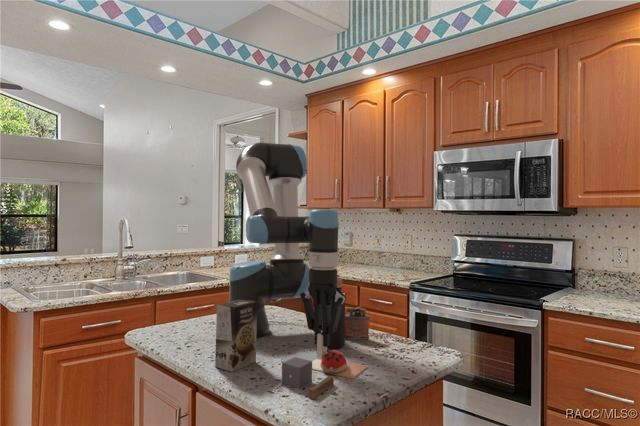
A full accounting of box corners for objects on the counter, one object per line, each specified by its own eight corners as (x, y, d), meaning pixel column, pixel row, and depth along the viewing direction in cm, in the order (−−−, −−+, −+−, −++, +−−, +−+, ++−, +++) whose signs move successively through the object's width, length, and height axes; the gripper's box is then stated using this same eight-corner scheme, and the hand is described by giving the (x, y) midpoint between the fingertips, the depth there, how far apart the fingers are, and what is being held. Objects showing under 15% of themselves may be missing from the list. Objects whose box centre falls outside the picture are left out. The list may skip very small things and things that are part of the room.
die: (298, 390, 93) (281, 384, 96) (311, 382, 97) (294, 377, 100) (299, 367, 93) (281, 363, 96) (312, 361, 97) (294, 356, 100)
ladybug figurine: (347, 361, 110) (347, 348, 110) (346, 376, 100) (346, 361, 100) (322, 360, 111) (322, 347, 111) (318, 374, 101) (319, 360, 101)
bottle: (322, 342, 128) (323, 277, 129) (344, 342, 128) (345, 277, 128) (321, 349, 122) (322, 280, 122) (344, 349, 121) (345, 281, 122)
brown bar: (308, 397, 89) (309, 389, 89) (329, 383, 97) (329, 375, 97) (313, 399, 88) (313, 390, 88) (333, 384, 96) (333, 376, 96)
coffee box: (232, 372, 102) (234, 307, 102) (214, 367, 106) (215, 303, 106) (257, 362, 110) (258, 301, 110) (239, 357, 114) (240, 298, 114)
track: (281, 362, 110) (281, 361, 110) (299, 352, 118) (299, 351, 118) (353, 378, 100) (353, 377, 100) (368, 367, 107) (368, 366, 107)
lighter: (368, 338, 133) (369, 307, 133) (369, 341, 130) (369, 309, 130) (343, 337, 134) (344, 306, 134) (343, 340, 131) (343, 308, 131)
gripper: (294, 267, 109) (293, 357, 109) (338, 271, 103) (337, 367, 102) (309, 264, 116) (308, 349, 115) (351, 268, 109) (350, 358, 109)
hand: (321, 357), depth 109 cm, fingers closed
